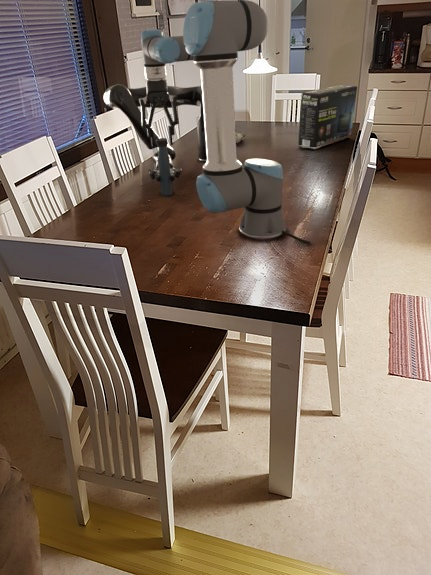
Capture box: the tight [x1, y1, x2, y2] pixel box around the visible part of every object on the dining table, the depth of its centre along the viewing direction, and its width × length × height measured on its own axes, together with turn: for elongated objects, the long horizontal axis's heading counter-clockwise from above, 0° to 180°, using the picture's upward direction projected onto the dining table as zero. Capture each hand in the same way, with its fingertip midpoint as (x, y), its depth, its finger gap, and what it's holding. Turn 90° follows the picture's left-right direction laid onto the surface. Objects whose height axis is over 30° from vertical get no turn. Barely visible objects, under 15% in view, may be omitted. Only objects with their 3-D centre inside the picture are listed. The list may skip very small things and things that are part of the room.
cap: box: [156, 137, 169, 148], centre depth 175 cm, size 4×4×2 cm
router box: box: [297, 84, 358, 151], centre depth 238 cm, size 36×11×27 cm, turn 134°
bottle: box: [157, 146, 174, 197], centre depth 180 cm, size 5×5×21 cm
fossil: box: [235, 129, 247, 144], centre depth 253 cm, size 18×11×15 cm
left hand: (165, 179), depth 179 cm, fingers closed on bottle, 4 cm apart
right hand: (162, 144), depth 175 cm, fingers open, 6 cm apart
